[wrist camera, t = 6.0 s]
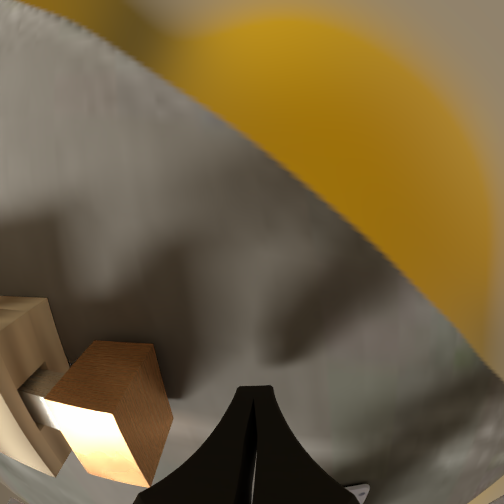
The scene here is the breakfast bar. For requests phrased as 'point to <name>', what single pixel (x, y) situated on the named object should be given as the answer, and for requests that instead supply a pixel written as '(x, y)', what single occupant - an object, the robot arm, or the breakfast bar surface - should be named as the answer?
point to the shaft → (107, 409)
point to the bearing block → (18, 371)
